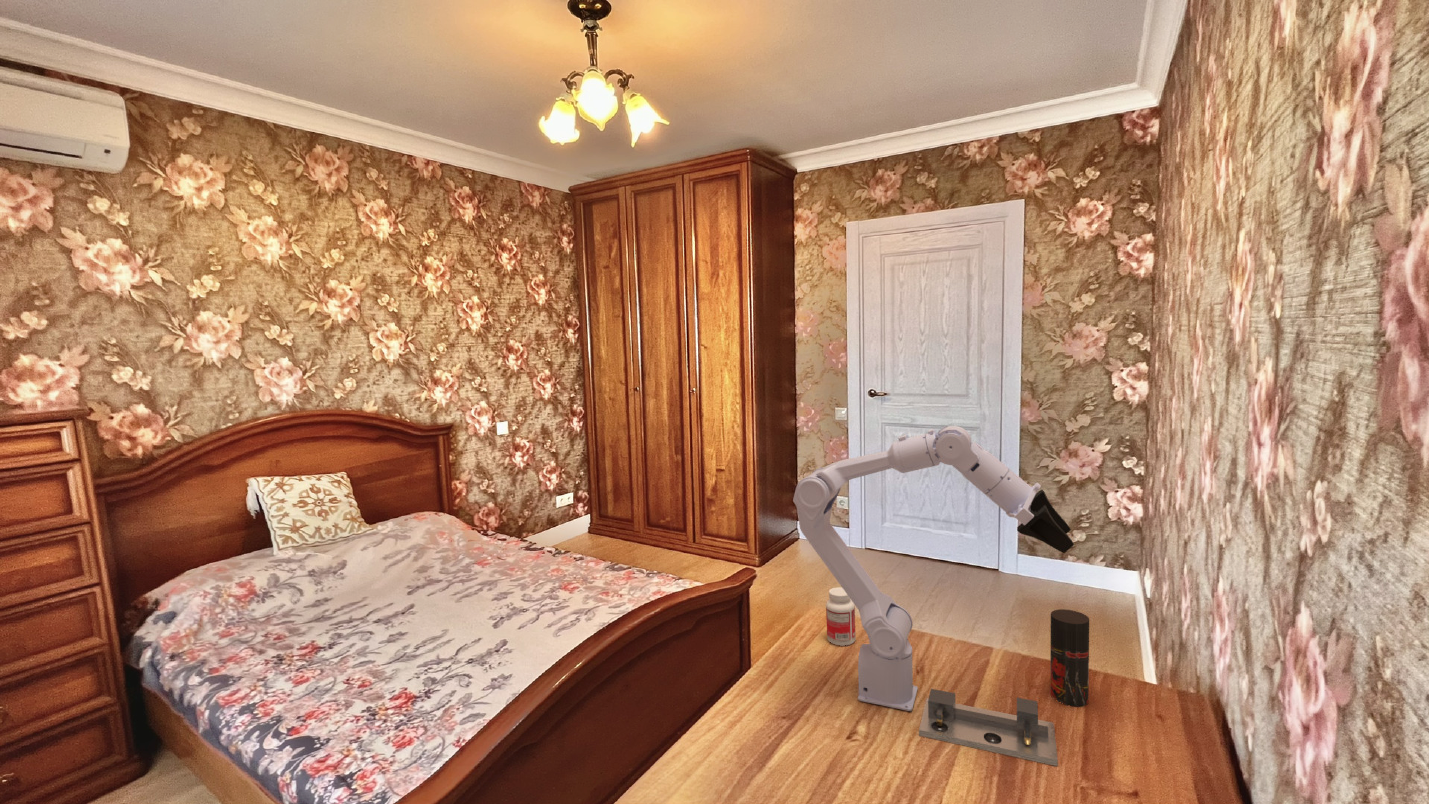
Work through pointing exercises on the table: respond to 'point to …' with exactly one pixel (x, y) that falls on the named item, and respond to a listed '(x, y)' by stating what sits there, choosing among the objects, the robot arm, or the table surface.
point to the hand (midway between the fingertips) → (1067, 540)
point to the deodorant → (1069, 657)
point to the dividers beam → (969, 714)
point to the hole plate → (992, 736)
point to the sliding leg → (1027, 718)
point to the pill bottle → (840, 618)
